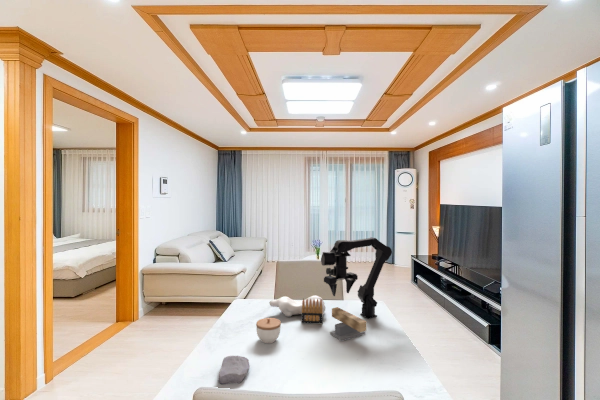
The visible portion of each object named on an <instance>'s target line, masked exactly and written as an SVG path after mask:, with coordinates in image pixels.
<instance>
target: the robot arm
mask: <svg viewBox="0 0 600 400" xmlns="http://www.w3.org/2000/svg"><path fill="white" fill-rule="evenodd" d="M364 247H372V248H373V249H374V250H375V253H374V255H375V260H374V262H373V265H372V266H371V269H370V272H369V274H368V277H367V279H366V281H365V283H364V284H363V285H361V284H360V286H359V288H358V290H357V298H358V299H359V300H360V302H361V303H362V304H361V305H362V307H361V313H359V315H360V316H362V317H364V318H367V319H373V318H376V317H377V316H378V315H377V314H376V307H377V305H378V301H376V300H375V299H374V295H375V286H376V284H377V281H378V280H379V275H380V274H381V272H382V269H383V267H384V265H385V263H386V262H387V261H388V260H389V259H390V258H391V255H392V254H393V251H392V250H393V249H392V248H391V247H390V246H388V245H385V244H384V243H383V242H381V241H380V240H379V239H377V238H376V237H371V236H370V237H368V238H360V239H355V240H348V239H347V240H346V239H345V240H344V239H338V240H336V241H335V243H334V244H333V247H332V248H331V249H330V251H329V252H327V251H323V252H322V254H321V257H320V263H321V265H322V266H323V267H324V266H325V267H326V266H333V268H331V267H327V268H325V274H326V275H327V276H324V277H323V282H324V283H325V284H327V285H328V286H329V288H330V291H331V294H332V296H333V297H336V294H337V285H338V284H337V282H338V281H343V280H345V282H346V283H345V286H346V287H345V288H346V293H347V294H349V293H350V292H351V289H352V287H353V285H354V284H355V282H357V280H358V276H359V275H357V273H355V272H348V270H349V267H348V264H347V262H348V261H347V257H351V254H350V253H349V252H350V251H351V250H353V249H358V248H364Z"/></svg>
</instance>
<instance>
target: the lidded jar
mask: <svg viewBox="0 0 600 400" xmlns="http://www.w3.org/2000/svg"><path fill="white" fill-rule="evenodd" d="M255 325H256V326H255V327H256V335H257V337H258V339H259V340H260V341H261V342H262V343H264V344H273V343H274V342H275V341H276V340H277V339H278V337H279V336H280V333H281V325H282V321H281V320H280V319H278V318H274V317H264V318H261V319H259V320H257V321H256V323H255Z"/></svg>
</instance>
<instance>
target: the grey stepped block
mask: <svg viewBox="0 0 600 400" xmlns="http://www.w3.org/2000/svg"><path fill="white" fill-rule="evenodd" d="M365 334H366V331H363V332H359V331H357V330H355V329H353V328H352V327H350V326H348V325H346V324H344V323H343V322H338V323H335V324H334V330H331V331H330V332H329V335H332V336H333V337H334V338H336V339H337V340H338V341H340V342H343V341H346V340H349V339H353V338H356V337H359V336H362V335H365Z"/></svg>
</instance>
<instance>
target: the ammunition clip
mask: <svg viewBox="0 0 600 400" xmlns="http://www.w3.org/2000/svg"><path fill="white" fill-rule="evenodd" d="M304 300H305V299H304V298H302V300H301V301H302V314H301V320H300V321H301V324H321V325H323V324H324V323H323V321H324V320H323V316H324V314H323V308H322V300H323V299H322V300H320V307H319V302H318V299H317V302H316V307H315V299H314V300H313V307H312V301H311V299H310V302H309V307H308V299H307V298H306V307H305V301H304Z"/></svg>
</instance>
